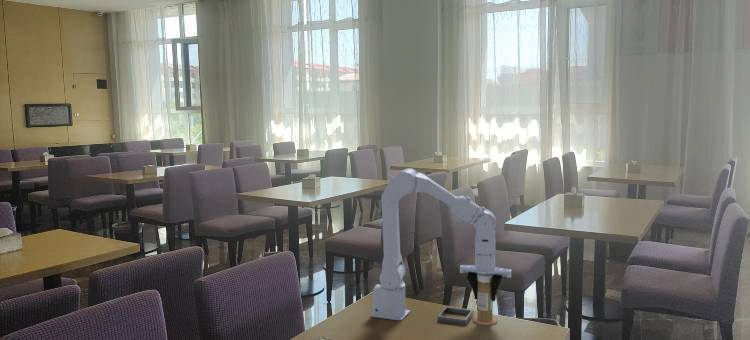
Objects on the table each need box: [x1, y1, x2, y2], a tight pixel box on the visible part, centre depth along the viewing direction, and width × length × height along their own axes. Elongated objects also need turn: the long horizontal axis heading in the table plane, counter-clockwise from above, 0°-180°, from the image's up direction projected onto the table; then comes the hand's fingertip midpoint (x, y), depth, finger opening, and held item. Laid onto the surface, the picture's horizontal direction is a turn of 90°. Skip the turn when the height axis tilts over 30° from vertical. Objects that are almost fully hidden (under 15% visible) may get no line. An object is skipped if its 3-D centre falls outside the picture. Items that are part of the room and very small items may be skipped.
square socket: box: [437, 306, 474, 326], centre depth 169 cm, size 8×8×2 cm
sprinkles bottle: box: [476, 274, 494, 322], centre depth 165 cm, size 5×5×14 cm
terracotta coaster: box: [472, 314, 498, 326], centre depth 166 cm, size 7×7×1 cm
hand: (485, 299), depth 166 cm, fingers closed on sprinkles bottle, 4 cm apart
